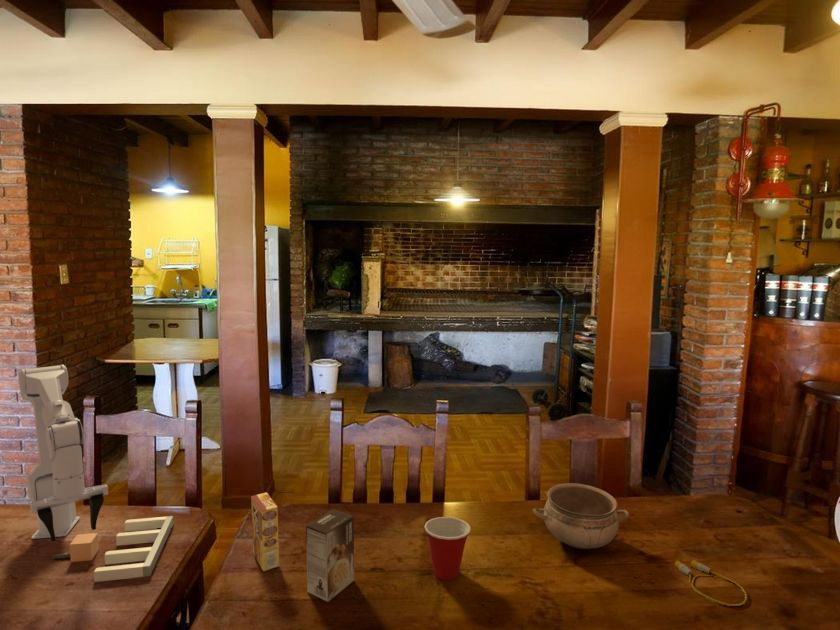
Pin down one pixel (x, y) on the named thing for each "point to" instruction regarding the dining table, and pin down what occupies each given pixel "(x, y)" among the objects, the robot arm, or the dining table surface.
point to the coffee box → (330, 554)
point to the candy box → (265, 531)
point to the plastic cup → (446, 545)
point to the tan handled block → (81, 548)
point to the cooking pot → (581, 515)
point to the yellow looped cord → (707, 570)
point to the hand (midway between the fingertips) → (73, 533)
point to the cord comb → (138, 554)
